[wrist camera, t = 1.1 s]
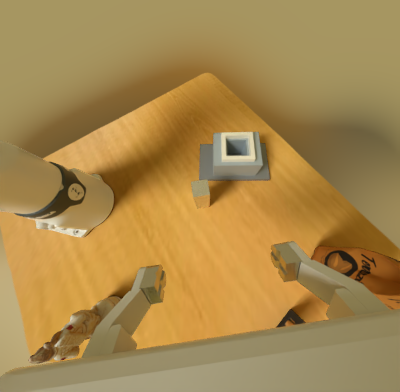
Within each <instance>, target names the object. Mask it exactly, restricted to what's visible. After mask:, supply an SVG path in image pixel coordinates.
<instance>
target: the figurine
mask: <svg viewBox="0 0 400 392" xmlns="http://www.w3.org/2000/svg"><path fill="white" fill-rule="evenodd" d="M120 300H121V298H119V297H116V296H110V297H108V298H106V299H104V300H101V301H99V302H98V303H97V304H96V305H95V306H93V307H92V308H91V310H81V311H78V312H76V313H74V314H72V316H71V317H70V322H69V323H68V324H66V325H65V326H64V327H63V328H62V330H61V331H59V332H57V333H56V334H55V335H54V336H53V337H52V339H51V342H46V343H45V344H44V346H43V347H41V348H40V349H39V350H38V351H37V352H36V353H35V354H34V355H32V356H31V357H30V359H29V362H30V363H43V362H45V361H49V360H51V359H52V358H54V359H55V360H64V359H69V358H73V357H76V356H77V355H78V354H79V346H78V345H80V344H81V343H82V342H83V341H84V340H86V339H89V338H91V337H92V335H93V333H94V330H95V328H96V327H97V326H98V325H99V323H100V322H101V321H102V320H103V319H104V318H105V317H106V316H107V315H108V314H109V312H110V311H111V310H112V309H113V308H114V307H115V306H116V305H117V304H118V303H119V302H120Z"/></svg>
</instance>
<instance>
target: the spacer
mask: <svg viewBox="0 0 400 392" xmlns="http://www.w3.org/2000/svg"><path fill="white" fill-rule="evenodd" d="M245 138H248V146H249V156H226V139H245ZM221 153H222V162H254V161H255V159H256V158H255V149H254V140H253V132H228V133H221Z"/></svg>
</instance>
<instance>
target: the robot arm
mask: <svg viewBox="0 0 400 392" xmlns="http://www.w3.org/2000/svg"><path fill="white" fill-rule="evenodd" d="M113 204H114V194H113V191H112V190H111V188H110V187H109V186H108V185H107V184H105V183H104V182H103V179H102V177H101V176H100V175H98V174H93V175H89V174H87V173H85V172H83V171H81V170H79V169H75V168H74V169H69V170H68V169H67V168H65V167H63V166H61V165H59V164H56V163H53V162H47V161H45V160H43V159H41V158H39V157H37V156H35V155H33V154H31V153H29V152H27V151H25V150H23V149H21V148H19V147H17V146H15V145H13V144H10V143H7V142H4V141H0V211H3V212H11V213H14V214H16V215H19V216H23V217H25V218H28V219H32V220H36V225H37V226H36V228H39V229H48V230H52V231H56V232H60V233H64V234H68V235H72V236H76V237H81V238H83V237H85V236H86V235H87V234H88V233H89V232H90V231H91V230H92V229H93V228H94V227H96V226H97V225H99V224H101V223H102V222H103V221H104V220H105V219H106V218H107V217H108V215H109V214H110V212H111V210H112V208H113ZM78 231H79V232H78ZM271 250H272V252H271V260H272V262H273V264H274V266H275V267H276V268H278V269H279V272H278V273H279V275H280V276H281V278H282V279H283V281H284V282H288V281H295V280H297V281H298V282H299V283H300V284H302V285H303V286H304V287H306V288H307V289H308V290H310V291H311V292H312V293H314V294H315V295H316V296H318V297H319V298H320V299H322V300H323V301H324V302H326V303H327V304H328V305H329V307H328V310H327V313H326V315H327V317H328V318H329V320H323V321H316V322H310V323H304V324H297V325H291V326H284V327H278V328H271V329H265V330H259V331H252V332H246V333H239V334H233V335H227V336H220V337H214V338H207V339H201V340H194V341H188V342H182V343H175V344H169V345H163V346H156V347H150V348H143V349H137V350H136V347H137V343H136V342H135V340H134V339H133V338H132V337H131V336H132V335H133V333H134V332H135V330H136V328H137V327H138V325H139V324H140V322H141V320H142V319H143V317H144V316H145V314H146V312H147V311H148V309H149V308H150V306H151V304H156V303H161V302H163V298H164V290H163V288H164V287H165V285H166V274H165V271H163V270H162V269H163V267H162V265H154V266H148V267H142V268H140V269H139V271H138V273H137V276H136V279H135V282H134V284H133V287H132V290H131V291H129V292H128V293H127V294H126V295H125V296H124V297H123V298H122V299H121V300H120V302H119V303H118V304H117V305H116V306H115V307H114V308H113V309H112V310H111V311H110V312H109V314H108V315H107V316H106V317H105V318H104V319H103V320H102V321H101V322H100V323H99V325H98V326H97V327H96V328H95V330H94V333H93V335H92V337H91V339H90V341H89V343H88V345H87V347H86V349H85V351H84V353H83V356H82V358H79V359H73V360H67V361H60V362H54V363H47V364H42V365H35V366H29V367H21V368H16V369H12V370H10V371H8V372H6V373H5V374H3V375H2V376H1V377H0V392H400V309H394V310H390V309H389V308H388V307H387V306H386V305H385V304H384V303H383V302H381V301H380V300H379V299H378V298H377V297H376V296H375V295H374V294H373V293H372V292H371V291H369V290H368V289H367V288H366V287H365V286H364V285H363V284H361V283H359V282H357V281H355V280H353V279H351V278H349V277H347V276H345V275H343V274H341V273H339V272H337V271H335V270H333V269H331V268H329V267H327V266H325V265H323V264H321V263H319V262H317V261H315V260H311V259H310V258H309V257H308V256H307V255H306V254H305V252H304V251H303V250H302V249H301V248H300V247H299V246H298V245H297V244H296V243H295V242H294V241H291V242H286V243H280V244H274V245H272V246H271Z"/></svg>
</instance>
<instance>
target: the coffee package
mask: <svg viewBox="0 0 400 392" xmlns="http://www.w3.org/2000/svg"><path fill="white" fill-rule="evenodd" d="M314 252H315V253H314V255H313V257H312V259H311V260H315V261H317V262H319V263H321V264H323V265H325V266H327V267H329V268H331V269H333V270H335V271H337V272H339V273H341V274H343V275H345V276H347V277H349V278H351V279H353V280H355V281H357V282H359V283H361V284H363V285H364V286H365V287H366V288H367V289H368V290H369V291H371V292H372V293H373V294H374V295H375V296H376V297H377V298H378V299H379V300H380V301H381V302H383V303H384V304H385V305H386V306H387V307H388V308H389V309H390V310H394V309H400V261H398V260H395V259H393V258H391V257H388V256H385V255H382V254H379V253H376V252H373V251H369V250H366V249H362V248H338V247H328V246H319V247H317V248H316V249H315V251H314Z"/></svg>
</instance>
